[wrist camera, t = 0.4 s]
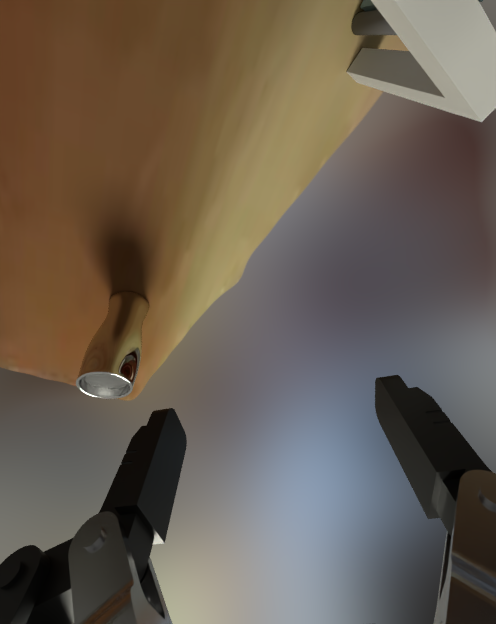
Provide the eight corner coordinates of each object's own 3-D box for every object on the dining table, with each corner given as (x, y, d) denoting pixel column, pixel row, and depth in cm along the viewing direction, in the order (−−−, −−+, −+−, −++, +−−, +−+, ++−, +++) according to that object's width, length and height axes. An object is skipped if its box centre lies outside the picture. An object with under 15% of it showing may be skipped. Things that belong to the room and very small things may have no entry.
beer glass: (103, 286, 42) (67, 370, 31) (151, 290, 43) (131, 372, 33) (109, 317, 47) (80, 399, 36) (152, 320, 48) (136, 400, 38)
